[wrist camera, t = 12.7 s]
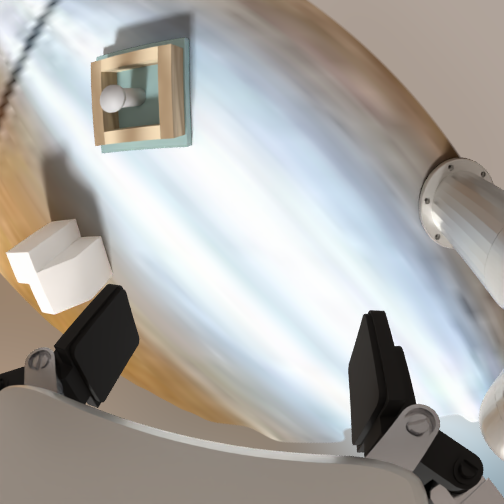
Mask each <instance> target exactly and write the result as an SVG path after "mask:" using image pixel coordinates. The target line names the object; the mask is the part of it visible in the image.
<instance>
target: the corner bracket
mask: <svg viewBox="0 0 504 504" xmlns="http://www.w3.org/2000/svg"><path fill="white" fill-rule="evenodd" d="M6 254H7V256H8V259H9V262H10V264H11V267H12V269H13V272H14V274H15V276H16V279H17V281H18V283H27V284H29V285H30V287H31V289H32V291H33V294H34V296H35V298H36V300H37V302H38V304H39V306H40V309H41V311H42V312H44V313H50V314H57V313H59V312H62V311H64V310H67V309H69V308H72V307H74V306H77V305H79V304H81V303H84V302H86V301H89V300H91V299H92V298H93V297H94V296H95V294H96V293H97V292H98V291H99V290H100V289H101V288H102V287H103V286H104V285H105V284H106V282H107V281H108V280H109V279H110V278H111V277H112V276H113V273H112V270H111V267H110V263H109V260H108V257H107V254H106V251H105V248H104V244H103V241H102V237H101V236H91V237H81V235H80V232H79V228H78V225H77V221H76V219H70V220H61V221H52V222H50V223H48V224H47V225H45V226H44V227H42V228H41V229H39V230H38V231H36V232H35V233H33V234H32V235H30V236H29V237H27V238H26V239H25V240H23V241H22V242H20V243H19V244H18V245H16V246H15V247H13V248H12V249H11V250H9V251H8V252H6Z"/></svg>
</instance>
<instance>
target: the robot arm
mask: <svg viewBox="0 0 504 504" xmlns="http://www.w3.org/2000/svg"><path fill="white" fill-rule="evenodd" d="M448 166H449V168H448ZM425 198H426V200H425ZM419 215H420V219H421V223H422V226H423V227H424V229H425V231H426V233H427V234H428V235H429V237H430V238H431V239H432V240H433V241H434V242H436V243H437V244H439V245H441V246H443V247H446V248H454V249H455V250H456V251H457V252H458V253H459V255H460V256H461V257H462V258H463V260H464V261H465V262H466V263H467V265H468V266H469V267H470V268H471V270H472V271H473V272H474V273H475V275H476V276H477V277H478V279H479V280H480V281H481V283H482V284H483V285H484V287H485V288H486V289H487V291H488V292H489V293H490V295H491V296H492V297H493V299H494V300H495V301H496V303H497V304H498V305H499V306H500V307H501V308H503V309H504V190H502V189H500V188H499V187H497V186H495V185H494V184H493V181H492V179H491V177H490V176H489V174H488V172H487V171H486V170H485V169H484V168H483V167H482V166H481V165H480V164H478V163H477V162H475V161H473V160H470V159H467V158H453V159H449V160H447V161H445V162H443V163H441V164H440V165H438V166H437V167H436V168H435V169H434V170H433V171H432V172H431V173H430V174H429V176H428V178H427V179H426V181H425V183H424V185H423V188H422V190H421V194H420V199H419ZM435 235H436V236H435ZM138 344H139V335H138V332H137V329H136V325H135V322H134V319H133V315H132V312H131V308H130V305H129V301H128V297H127V293H126V291H125V290H123V288H122V286H120V285H113V284H108V285H106V286H105V288H104V289H103V290H102V291H101V292H100V293H99V294H98V295H97V296H96V297H95V299H94V300H93V301H92V302H91V303H90V304H89V305H88V306H87V307H86V309H85V310H84V311H83V312H82V313H81V314H80V315H79V317H78V318H77V319H76V320H75V321H74V322H73V324H72V325H71V326H70V327H69V328H68V329H67V331H66V332H65V333H64V334H63V335H62V337H61V338H60V339H59V340H58V341H57V343H56V344H55V345H54V347H55V349H56V350H55V351H54V352H53V351H52V350H51V349H49V348H38V349H36V350H34V351H33V352H31V353H30V354H29V355H28V357H27V358H26V361H25V366H24V367H21V368H18V369H15V370H12V371H9V372H5V373H2V374H0V504H504V498H503V496H502V495H501V494H500V492H499V491H498V490H497V488H496V487H495V486H494V485H493V483H492V482H491V481H490V479H489V478H488V479H486V480H485V478H484V477H483V476H482V475H483V464H482V462H481V460H480V458H479V457H478V456H477V455H475V454H474V453H472V452H471V451H469V450H468V449H466V448H465V447H463V446H462V445H460V444H459V443H458V442H456V441H454V440H453V439H452V438H450V437H449V436H447V435H446V434H444V433H443V432H441V431H440V430H439V428H440V420H439V417H438V415H437V414H436V412H435V411H434V410H433V409H431V408H430V407H428V406H426V405H422V404H416V400H415V396H414V391H413V387H412V383H411V379H410V375H409V371H408V367H407V363H406V359H405V355H404V352H403V349H402V347H401V346H394V342H393V339H392V335H391V331H390V328H389V324H388V320H387V317H386V313H385V311H374V310H370V311H369V312H368V314H364V315H363V318H362V321H361V325H360V328H359V332H358V336H357V339H356V342H355V346H354V349H353V352H352V356H351V359H350V362H349V367H348V374H349V388H350V405H351V426H352V444H353V445H357V452H364V456H365V458H363V457H354V456H337V455H319V454H303V453H291V452H281V451H271V450H262V449H254V448H247V447H240V446H234V445H228V444H222V443H217V442H212V441H206V440H202V439H197V438H193V437H188V436H184V435H179V434H175V433H172V432H168V431H164V430H160V429H156V428H153V427H149V426H146V425H143V424H139V423H136V422H133V421H130V420H127V419H124V418H121V417H118V416H115V415H112V414H109V413H106V412H104V411H101V410H98V409H96V408H93V407H90V406H88V405H85V404H86V402H87V403H88V404H89V405H92V406H95V407H97V408H98V407H99V405H100V403H101V402H104V401H105V400H106V398H107V396H108V395H109V393H110V391H111V389H112V388H113V386H114V384H115V383H116V381H117V379H118V378H119V376H120V374H121V373H122V371H123V369H124V368H125V366H126V364H127V363H128V361H129V359H130V358H131V356H132V354H133V353H134V351H135V349H136V348H137V346H138ZM479 424H480V429H481V432H482V435H483V437H484V439H485V441H486V443H487V444H488V446H489V447H490V449H491V450H492V451H493V452H494V453H495V454H496V455H497V456H498V457H499V458H500V459H502V460H503V461H504V369H503V370H502V371H501V373H500V374H499V376H498V377H497V378H496V380H495V381H494V382H493V384H492V385H491V387H490V388H489V390H488V391H487V393H486V394H485V397H484V399H483V401H482V404H481V407H480V412H479Z"/></svg>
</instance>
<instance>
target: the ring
mask: <svg viewBox="0 0 504 504" xmlns="http://www.w3.org/2000/svg"><path fill="white" fill-rule="evenodd" d="M156 64H158V96H159V119H160V124H152V125H143V126H134V127H126V128H119V115H118V111H117V112H112V113H108V112H106V111H104V110H103V109H102V107H101V105H100V95H101V93H102V91H103V90H104V89H105V88H106V87H107V86H109V85H117V72H121V71H126V70H130V69H135V68H140V67H145V66H151V65H156ZM91 91H92V111H93V125H94V137H95V146H99V145H107V144H115V143H124V142H133V141H144V140H156V139H170V138H176V137H179V136H182V135H185V117H184V84H183V48H181V47H178V46H176V45H173V44H167V45H161V46H156V47H151V48H146V49H141V50H137V51H133V52H128V53H124V54H120V55H116V56H113V57H109V58H105V59H102V60H99V61H95V62H92V63H91Z"/></svg>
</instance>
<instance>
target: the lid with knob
mask: <svg viewBox="0 0 504 504" xmlns="http://www.w3.org/2000/svg"><path fill="white" fill-rule="evenodd" d="M167 44H173V45H176V46H178V47H181V48H183V84H184V117H185V135H182V136H179V137H176V138H170V139H156V140H144V141H133V142H124V143H115V144H107V145H101V150H102V153H109V152H119V151H129V150H141V149H155V148H172V147H188V146H191V145H192V141H191V117H190V81H189V39H187V38H185V37H184V38H178V39H172V40H166V41H161V42H156V43H151V44H146V45H141V46H137V47H133V48H129V49H125V50H121V51H117V52H113V53H110V54H106V55H103V56H99V57H97V61H99V60H102V59H105V58H109V57H113V56H116V55H120V54H124V53H128V52H133V51H137V50H141V49H146V48H151V47H156V46H161V45H167ZM100 105H101V107H102V109H103V110H104V111H106V112H108V113H112V112H117V111H118V115H119V128H126V127H134V126H143V125H152V124H160V119H159V96H158V64H156V65H151V66H145V67H140V68H135V69H130V70H126V71H121V72H117V85H109V86H107V87H106V88H105V89H104V90H103V91H102V93H101V95H100Z"/></svg>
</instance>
